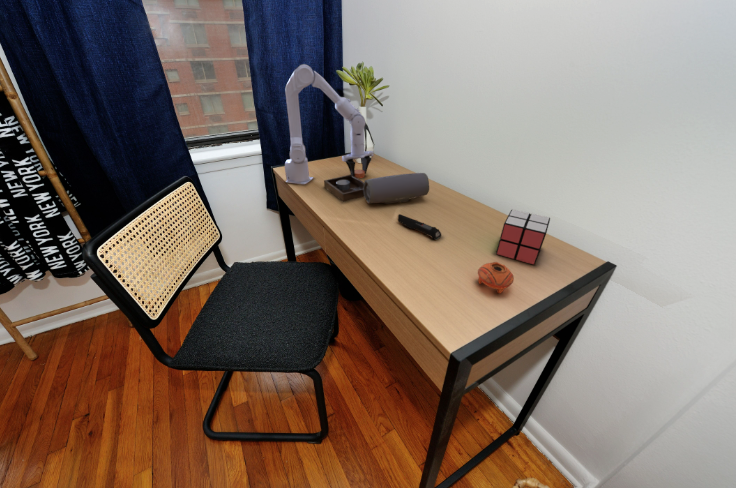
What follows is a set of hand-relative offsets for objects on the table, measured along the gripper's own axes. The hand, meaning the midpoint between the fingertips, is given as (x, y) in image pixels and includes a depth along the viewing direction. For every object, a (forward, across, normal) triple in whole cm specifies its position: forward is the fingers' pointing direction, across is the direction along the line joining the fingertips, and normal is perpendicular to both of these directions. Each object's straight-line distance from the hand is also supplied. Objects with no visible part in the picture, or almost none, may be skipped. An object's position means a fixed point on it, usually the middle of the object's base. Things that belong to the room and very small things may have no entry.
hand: (358, 174), depth 137 cm
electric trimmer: (+1, -8, -51) cm, 52 cm away
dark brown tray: (+1, -12, -12) cm, 17 cm away
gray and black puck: (+1, -12, -8) cm, 15 cm away
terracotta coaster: (+1, 0, 0) cm, 1 cm away
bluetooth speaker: (+1, -1, -30) cm, 30 cm away
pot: (+1, -10, -82) cm, 82 cm away
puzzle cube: (+1, +8, -75) cm, 76 cm away
